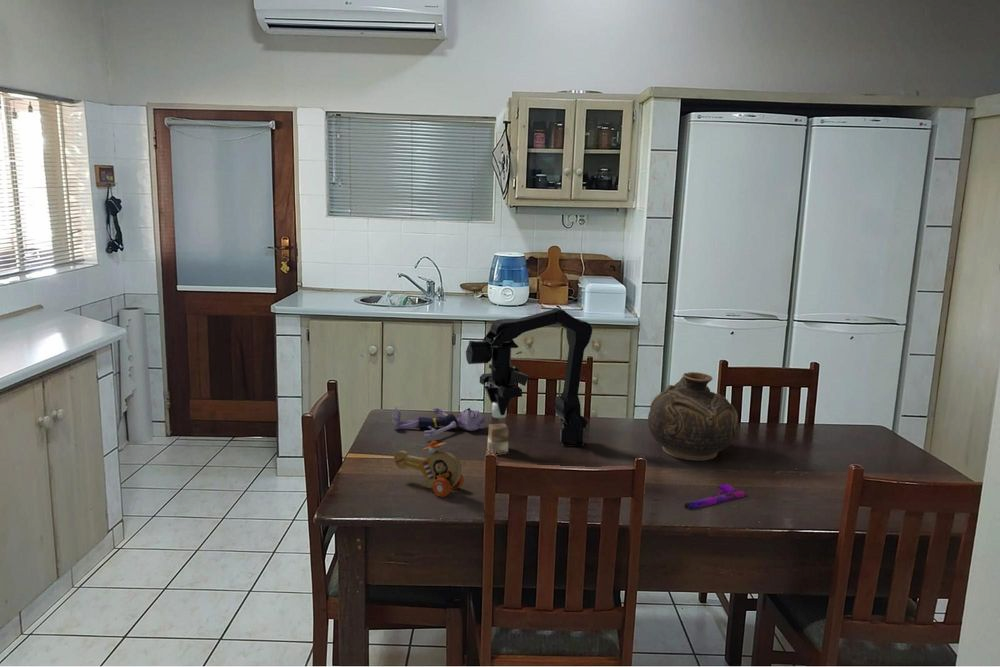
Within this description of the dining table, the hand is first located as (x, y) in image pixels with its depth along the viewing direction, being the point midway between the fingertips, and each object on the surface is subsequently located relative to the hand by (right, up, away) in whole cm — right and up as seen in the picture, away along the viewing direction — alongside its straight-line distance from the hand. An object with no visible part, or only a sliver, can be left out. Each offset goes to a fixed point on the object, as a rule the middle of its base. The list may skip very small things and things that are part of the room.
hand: (499, 412), depth 227 cm
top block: (0, -8, +2) cm, 8 cm away
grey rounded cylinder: (0, -1, 0) cm, 1 cm away
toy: (-20, -8, +22) cm, 30 cm away
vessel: (+59, -13, +7) cm, 61 cm away
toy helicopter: (-19, -17, -26) cm, 37 cm away
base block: (-1, -12, +2) cm, 12 cm away
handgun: (+57, -20, -28) cm, 66 cm away
